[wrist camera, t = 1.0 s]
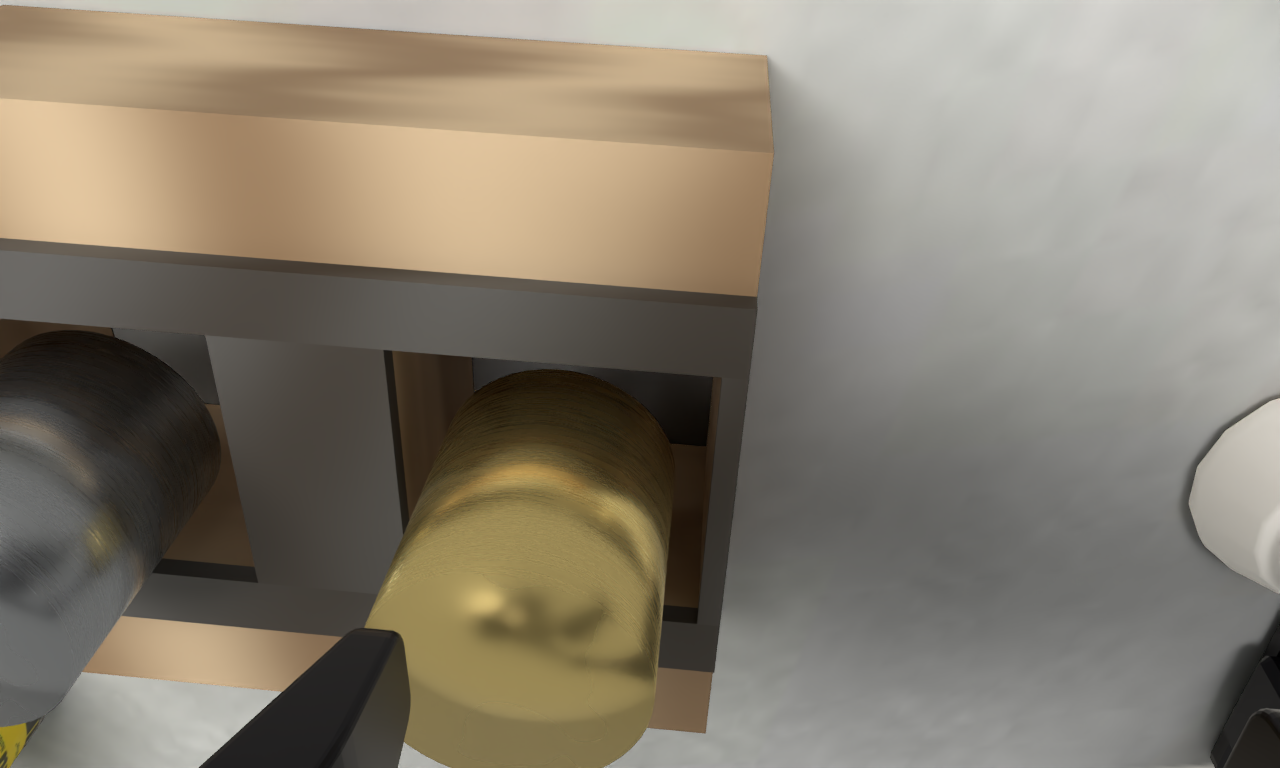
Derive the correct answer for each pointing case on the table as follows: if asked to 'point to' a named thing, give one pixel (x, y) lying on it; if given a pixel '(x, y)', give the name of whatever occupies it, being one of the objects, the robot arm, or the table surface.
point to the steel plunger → (86, 499)
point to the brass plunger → (535, 577)
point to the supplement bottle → (15, 740)
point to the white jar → (1243, 497)
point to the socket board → (379, 284)
